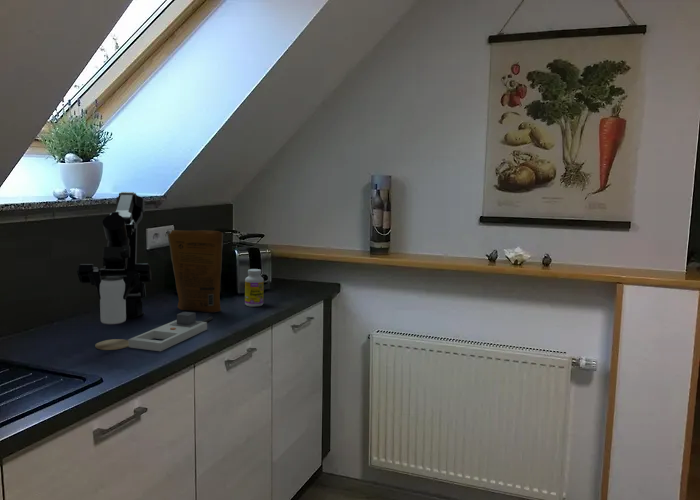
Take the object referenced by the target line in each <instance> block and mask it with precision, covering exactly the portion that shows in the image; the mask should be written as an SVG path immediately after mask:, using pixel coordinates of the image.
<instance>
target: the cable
mask: <svg viewBox="0 0 700 500" xmlns="http://www.w3.org/2000/svg"><path fill="white" fill-rule="evenodd" d="M211 320H213V316H209V317H208V318H205V319H203V320H202V321H203V322H207V323H209V322H210V321H211Z"/></svg>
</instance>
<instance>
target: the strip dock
mask: <svg viewBox="0 0 700 500" xmlns="http://www.w3.org/2000/svg"><path fill="white" fill-rule="evenodd" d="M207 330H208V322H203V320H196V322H195V323H192V324H190V325H183V324H177V319H175V320H173V321H170V322H168V323H165V324H163V325H160V326H157V327H155V328H153V329H151V330H148V331H146V332H142V333H141V334H138V335H135V336H133V337H130V338H129V339H127V340H128V341H129V346H128V348H131V349H138V350H139V349H140V350H148V351H156V352H163V351H164V350H167V349H169V348H170V347H173V346H175V345H177V344H179V343H181V342H183V341H186V340H188V339H190V338H192V337H195V336H196V335H198V334H201V333H203V332H204V331H207ZM156 339H159V340H156Z"/></svg>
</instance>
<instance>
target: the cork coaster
mask: <svg viewBox="0 0 700 500" xmlns="http://www.w3.org/2000/svg"><path fill="white" fill-rule="evenodd" d="M94 345H95V349H98V350H101V351H115V350H116V351H117V350H123V349H125V348H129V340H128V339H123V338H120V339H119V338H117V339H116V338H114V339H113V338H112V339H105V340H102V341H99V342H97V343H95V344H94Z"/></svg>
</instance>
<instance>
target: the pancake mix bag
mask: <svg viewBox="0 0 700 500" xmlns="http://www.w3.org/2000/svg"><path fill="white" fill-rule="evenodd" d="M167 233H168V234H167V239H168V245H169V250H170V259H171V263H172V270H173V275H174V279H175V289H176V292H177V297H178V302H177V309H179V310H180V311H186V312H203V313H218V312H222V308H221V299H220V298H221V297H220V295H221V293H220V291H221V276H222V269H223V266H222V265H223V264H222V263H223V247H224V245H223V244H224V243H223V242H224V241H223V240H224V232H222V231H220V230H209V229H207V230H206V229H198V230H197V229H196V230H195V229H194V230H192V229H191V230H186V229H184V230H183V229H182V230H181V229H180V230H178V229H173V230H171V232H167Z"/></svg>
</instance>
